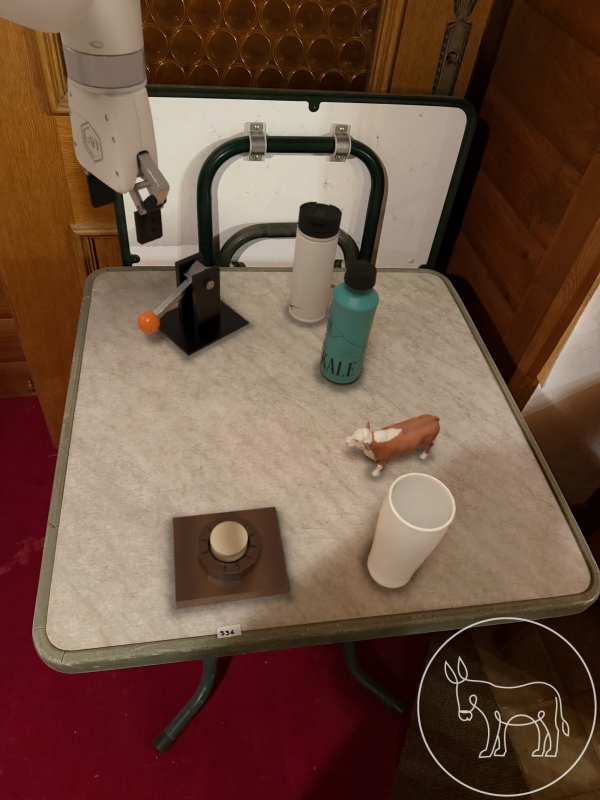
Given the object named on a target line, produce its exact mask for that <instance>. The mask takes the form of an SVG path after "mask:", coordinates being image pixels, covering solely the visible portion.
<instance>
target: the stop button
mask: <svg viewBox="0 0 600 800" xmlns="http://www.w3.org/2000/svg"><path fill="white" fill-rule="evenodd" d="M247 543H248V535H247V532H246V530H245V528H244V527H243V526H242V525H240V524H239V523H237V522H233V521H227V522H223V523H220V524H219V525H217V526H216V527H215V528H214V529H213V531H212V533H211V537H210V544H211V551H212V553H213V555H214V556H215V557H216V558H217V559H219V560H221V561H224V562H232V561H236V560H238V559H240V558H241V557H242V556H243V555H244V554H245V552H246V550H247Z"/></svg>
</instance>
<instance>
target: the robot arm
mask: <svg viewBox="0 0 600 800" xmlns="http://www.w3.org/2000/svg"><path fill="white" fill-rule="evenodd" d="M141 6H142V5H141V0H0V18H1V19H4V20H7V21H9V22H12V23H15V24H17V25H19V26H22V27H25V28H27V29H30V30H33V31H36V32H39V33H45V34H58V33H59V34H60V39H61V45H62V51H63V57H64V62H65V69H66V74H67V98H68V99H67V100H68V111H69V118H70V126H71V127H70V128H71V133H72V134H71V135H72V140H73V147H74V153H75V158H76V159H77V162H78V163H79V164H80V165H81V167H82V170H83V172H84V173H85V179H86V183H87V190H88V195H89V200H90V205H91V207H93V208H94V209H98V208H101V207H104V206H108V205H110V204H115V203H117V195H116V192H117V193H119V194H121V195H125V194H128V193H129V196H130V198H131V200H132V202H133V204H134V207H135V209H136V210H135V211H133V217H134V218H133V219H134V228H135V236H136V241H137V243H138V244H140V245H142V246H143V245H145V244H148V243H151V242H153V241H157V240H160V239H161V238H162V237H163V236H164V231H163V230H164V229H163V219H162V218H163V217H162V209H164V206H165V204H166V203H167V202H168V199H167V197H168V196H169V195H168V194H169V192H170V190H171V189H170V188H171V186H170V183H169V181H168V180H167V179H166V177H165V176H164V175H163V173H162V171H161V170H160V168H159V160H158V148H157V141H156V133H155V126H154V120H153V115H152V109H151V104H150V100H149V95H148V89H147V88H146V86H147V84H148V80H147V78H148V77H147V67H146V65H147V64H146V56H145V55H146V54H145V43H144V31H143V18H142V7H141ZM137 178H140V179H142V180H141V181H139V182H137ZM144 189H146V190H147V192H148V194H149V195H148V196H147V197H146V198H145V199H143V198H142V196H141V193H140V191H141V190H144Z"/></svg>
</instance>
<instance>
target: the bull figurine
mask: <svg viewBox="0 0 600 800" xmlns="http://www.w3.org/2000/svg"><path fill="white" fill-rule="evenodd" d="M365 424H366V425H365V427H360V428H357V429H356V430H354V432H353V433H352V434H351V435H348V436H346V437H345V439H344V440H345V445H346V446H347V447H349V448H353V447H355V448H357V449H359V450H362V451H363V454H364V455H365V456H366V457H368V458H370V459H372V460H373V461H375V462H377V461H379V462H377V464H376V468H375V469H374V470H373V471H372V472H371V475H372V477H378V476H380V475H381V470H383V469H384V468H385V466H386V464H388V463H389V462H390V460H391V459H393V457H398V456H406V455H410V454H412V453H414V452H416V450H417V449H419V447H420V446H423V448H424V449H423V451H422V452H421V453H419V458H421V459H423V460H425V459H426V458H427V457H429V452H430V450H431V448H433V446H434V441H435V440H436V438H437V436H438V435H439V433H440V431H441V424H440V417H439V416H437V415H432V414H430V413H427V414H421V415H418V416H416V417H411V418H409V419H406V420H403V421H401V422H400V421H399V422H397V423H394V424H392V425H387V426H385V427H382V428H380V429H377V430H375V431H370V430H371V425H370V421H367V422H366V423H365Z"/></svg>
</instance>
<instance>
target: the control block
mask: <svg viewBox="0 0 600 800" xmlns="http://www.w3.org/2000/svg"><path fill="white" fill-rule="evenodd" d="M277 513H278V512H277V508H276V506H270V507H260V508H249V509H241V510H233V511H222V512H213V513H204V514H195V515H185V516H176V517H172V537H173V540H172V541H173V565H174V567H173V569H174V591H175V592H174V594H175V595H174V596H175V605H176V609H177V610H178V609H185V608H186V609H187V608H193V607H201V606H208V605H215V604H221V603H222V604H223V603H230V602H237V601H244V600H251V599H258V598H259V599H260V598H265V597H266V598H267V597H273V596H281V595H288V594H289V590H290V583H289V577H288V572H287V567H286V561H285V560H286V559H285V555H284V549H283V543H282V538H281V532H280V526H279V525H280V524H279V520H278V515H277ZM227 521H233V522H237V523H239V524H240V525H242V526H243V527H244V528H245V530H246V532H247V535H248V543H247V550H246V552H245V554H244V555H243V556H242V557H241V558H240V559H238V560H236V561H232V562H224V561H221V560H219V559H217V558H216V557H215V556H214V555H213V553H212V551H211V544H210V537H211V533H212V531H213V529H214V528H215V527H216V526H217V525H219V524H220V523H223V522H227Z"/></svg>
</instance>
